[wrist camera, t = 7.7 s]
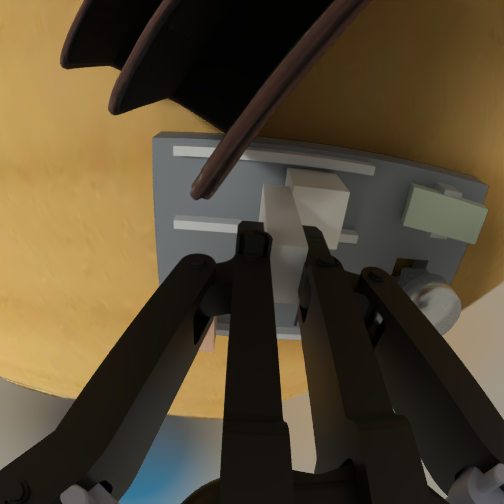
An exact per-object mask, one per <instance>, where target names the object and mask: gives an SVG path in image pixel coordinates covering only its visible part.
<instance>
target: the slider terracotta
mask: <svg viewBox="0 0 504 504" xmlns="http://www.w3.org/2000/svg"><path fill="white" fill-rule="evenodd" d="M216 328H217V316H214V320H213V322H212V324H211V326H210V328H209V330H208V332H207V334H206V336H205V338H204V340H203V342H202V344H201V346H200V348H199V350H198V351H202V352H213V353H214V345H215V337H216Z"/></svg>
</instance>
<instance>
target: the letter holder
mask: <svg viewBox="0 0 504 504" xmlns="http://www.w3.org/2000/svg"><path fill="white" fill-rule="evenodd" d="M371 1H372V0H84V1H83V3H82V5H81V7H80V9H79V11H78V13H77V15H76V17H75V19H74V21H73V23H72V25H71V28H70V30H69V32H68V35H67V37H66V40H65V42H64V45H63V48H62V52H61V56H60V64H61V66H62V67H63V68H65V69H73V68H84V67H96V66H111V67H114V68H116V69H118V70H120V71H121V73H120V75H119V77H118V79H117V80H116V83H115V85H114V88H113V90H112V93H111V96H110V100H109V106H108V110H109V112H110V113H111V114H112V115H119V114H123V113H125V112H128V111H131V110H133V109H136V108H139V107H142V106H145V105H148V104H151V103H155V102H157V101H160V100H163V99H167V98H168V99H170V100H172V101H175V102H177V103H178V104H180V105H182V106H183V107H185V108H187V109H188V110H190V111H192V112H193V113H195V114H197V115H198V116H200V117H201V118H203V119H204V120H206V121H208V122H209V123H211V124H212V125H214V126H215V127H216V128H218V129H220V130H221V131H223V132H224V133H226V134H225V135H224V137H223V138H222V139H221V141H220V143H219V144H218V145H217V147H216V149H215V150H214V151H213V153H212V154H211V156H210V157H209V158H208V160H207V162H206V163H205V165H204V166H203V168H202V169H201V172H200V173H199V175H198V177H196V180H195V181H194V183H193V184H192V185H191V191H190V196H191V197H192V198H193V199H194V200H199V199H201V198H203V199H206V200H209V199H210V198H211V197H212V196H213V195H214V194H215V192H216V191H217V190H218V188H219V187H220V185H221V184H222V183H223V181H224V180H225V178H226V177H227V176H228V174H229V173H230V172H231V170H232V169H233V167H234V166H235V165H236V163H237V162H238V161H239V159H240V158H241V156H242V155H243V153H244V152H245V150H246V149H247V147H248V146H249V145H250V144H251V142H252V141H253V140H254V139H255V137H256V136H257V135H258V133H259V132H260V131H261V129H262V128H263V127H264V126H265V124H266V123H267V122H268V120H269V119H270V118H271V117H272V115H273V114H274V113H275V111H276V110H277V109H278V108H279V106H280V105H281V104H282V103H283V102H284V100H285V99H286V98H287V97H288V96H289V94H290V93H291V92H292V91H293V90H294V89H295V87H296V86H297V85H298V84H299V82H300V81H301V80H302V79H303V78H304V76H305V75H306V74H307V73H308V71H309V70H310V69H311V68H312V67H313V66H314V65H315V64H316V63H317V61H318V60H319V59H320V58H321V56H322V55H323V54H324V53H325V51H326V50H327V49H328V48H329V47H330V46H331V45H332V44H333V43H334V42H335V41H336V40H337V39H338V37H339V36H340V35H341V34H342V33H343V32H344V30H345V29H346V28H347V27H348V26H349V25H350V24H351V22H352V21H353V20H354V19H355V18H356V17H357V16H358V14H359V13H360V12H361V11H362V10H363V9H364V8H365V7H366V6H367V5H368V4H369V3H370V2H371Z"/></svg>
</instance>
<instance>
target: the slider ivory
mask: <svg viewBox="0 0 504 504" xmlns="http://www.w3.org/2000/svg"><path fill="white" fill-rule="evenodd" d="M285 186H290V188H291V192H292V195H293V197H294V201H295V204H296V207H297V210H298V214H299V217H300V220H301V224H302V225H306V226H316V227H317V228H318V229H319V230H320V231H322V233H323V236H324V239H325V241H326V244H327V246H328V248H329V249H334V250H337V246H338V242H339V238H340V233H341V229H342V225H343V221H344V217H345V212H346V208H347V204H348V199H349V195H350V192H349V190H348V189H347V187H346V186H345V185H344V183H343V182H342V181H341V179H340V178H339V177H338V176H337V174H336V173H330V172H322V171H314V170H306V169H298V168H289V167H287V175H286V182H285Z"/></svg>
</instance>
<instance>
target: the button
mask: <svg viewBox="0 0 504 504" xmlns="http://www.w3.org/2000/svg"><path fill="white" fill-rule="evenodd" d="M397 284H398V285H399V286H400V287H401V288H402V289H403V290H404V292H405V293H406V294H407V295H408V296H409V297H410V298H411V300H412V301H413V302H414V303H415V304H416V305H417V307H418V308H419V309H420V310H421V311H422V313H423V314H424V315H425V316H426V317H427V319H428V320H429V321H430V322H431V323H432V325H433V326H434V327H435V328H436V330H437V331H438V332H439V333H440V334H441V336H442V335H444V334H445V333H446V332H447V331H449V330H450V329H451V328H452V326H453V325H454V324H455V323H456V321H457V319H458V318H459V315H460V313H461V307H462V306H461V301H460V299H459V297H458V296H457V294H456V293H455V292H454V290H453V289H452V287H451V286H450V284H449V283H448V282H447V280H446V279H445V278H444V277H443V276H442V275H440V274H436V273H429V272H428V271H427V269H421V268H408V267H403V269H402V271H401V274H400V276H399V279H398V282H397Z"/></svg>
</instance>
